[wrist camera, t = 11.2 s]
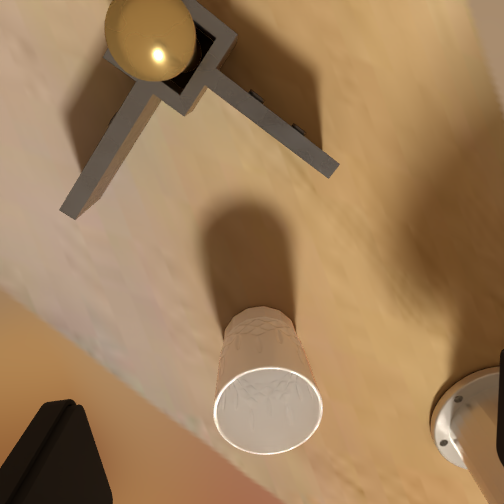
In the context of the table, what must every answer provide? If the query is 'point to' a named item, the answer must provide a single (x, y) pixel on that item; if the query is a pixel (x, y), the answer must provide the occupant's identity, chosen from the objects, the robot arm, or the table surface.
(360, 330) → the table surface
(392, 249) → the table surface
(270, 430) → the white cup
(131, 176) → the table surface
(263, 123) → the hinge body
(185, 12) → the hinge pin
